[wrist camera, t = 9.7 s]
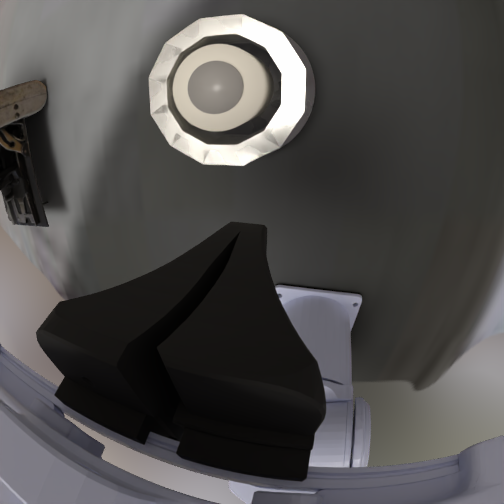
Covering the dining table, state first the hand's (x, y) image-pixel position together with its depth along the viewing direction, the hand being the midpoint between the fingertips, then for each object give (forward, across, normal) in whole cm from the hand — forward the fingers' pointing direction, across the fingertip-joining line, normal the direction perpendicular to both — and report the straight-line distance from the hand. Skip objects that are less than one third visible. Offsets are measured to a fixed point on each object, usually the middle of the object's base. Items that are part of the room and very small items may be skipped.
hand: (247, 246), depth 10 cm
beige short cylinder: (+10, +3, -6) cm, 12 cm away
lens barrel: (+10, +3, -6) cm, 12 cm away
